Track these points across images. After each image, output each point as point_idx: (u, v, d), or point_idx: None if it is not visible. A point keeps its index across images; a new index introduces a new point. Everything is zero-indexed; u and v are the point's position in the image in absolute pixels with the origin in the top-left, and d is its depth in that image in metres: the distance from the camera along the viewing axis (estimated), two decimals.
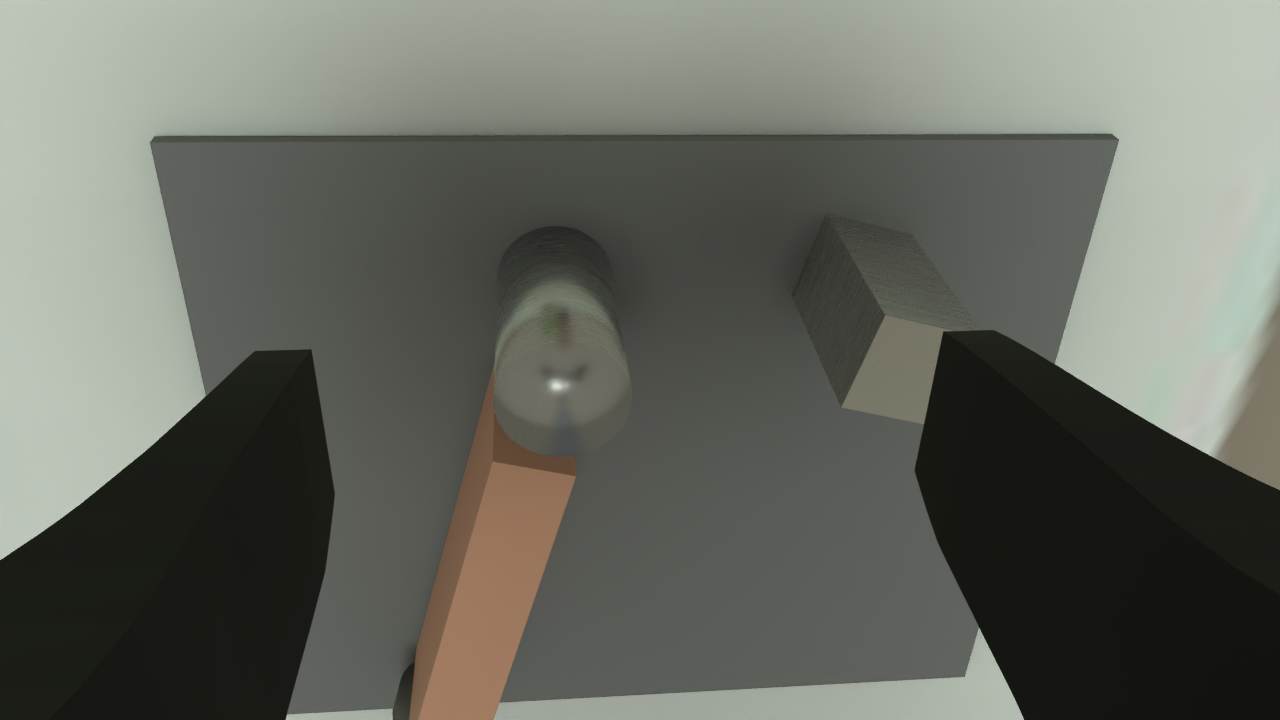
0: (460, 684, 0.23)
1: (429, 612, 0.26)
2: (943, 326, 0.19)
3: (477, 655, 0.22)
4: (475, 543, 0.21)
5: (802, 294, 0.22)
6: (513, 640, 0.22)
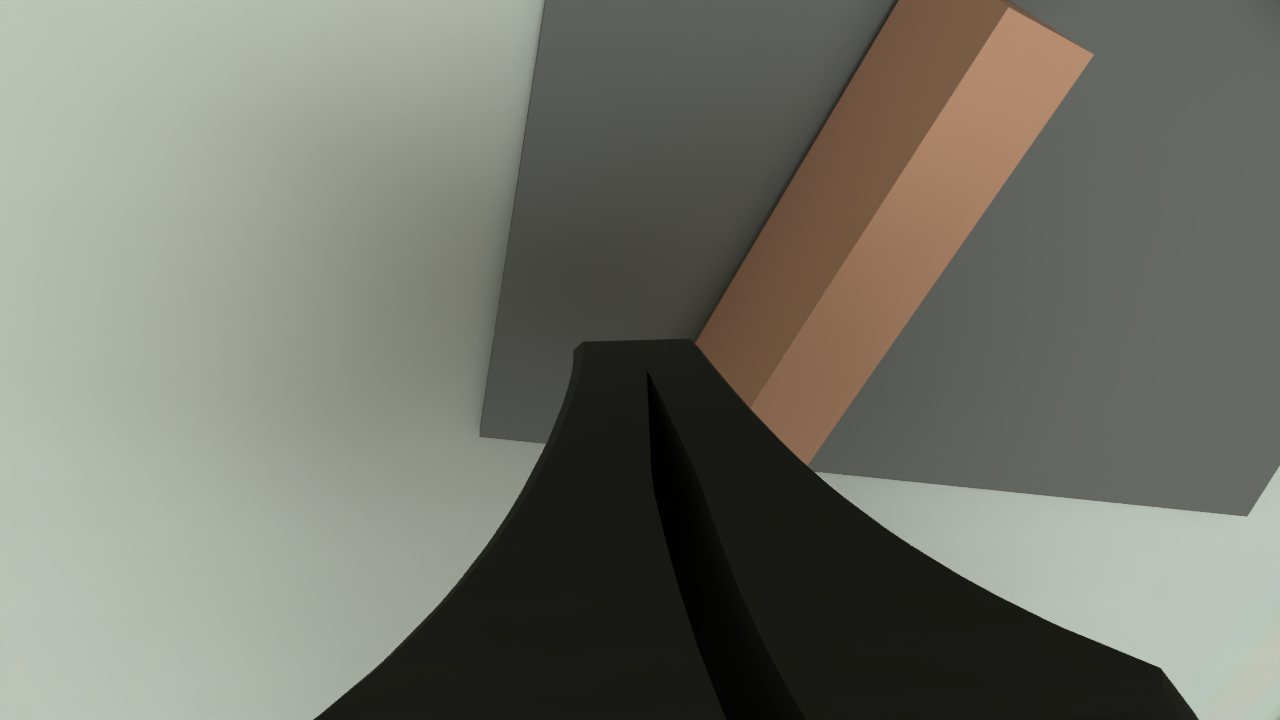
0: (826, 355, 0.18)
1: (731, 304, 0.21)
2: None
3: (863, 313, 0.18)
4: (933, 135, 0.16)
5: None
6: (915, 298, 0.18)
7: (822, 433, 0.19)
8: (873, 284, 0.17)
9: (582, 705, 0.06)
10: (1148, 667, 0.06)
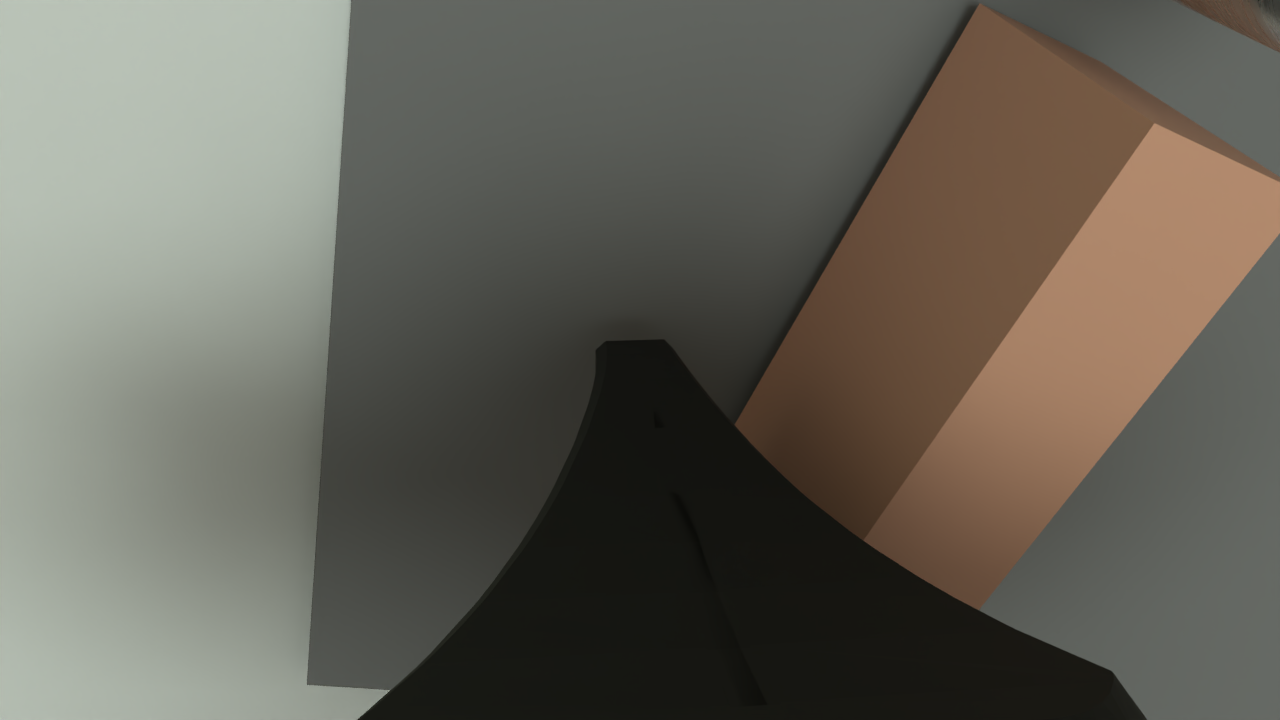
0: None
1: None
2: None
3: None
4: (1014, 344, 0.09)
5: None
6: (983, 587, 0.10)
7: None
8: (912, 572, 0.10)
9: (628, 702, 0.06)
10: (1100, 668, 0.06)
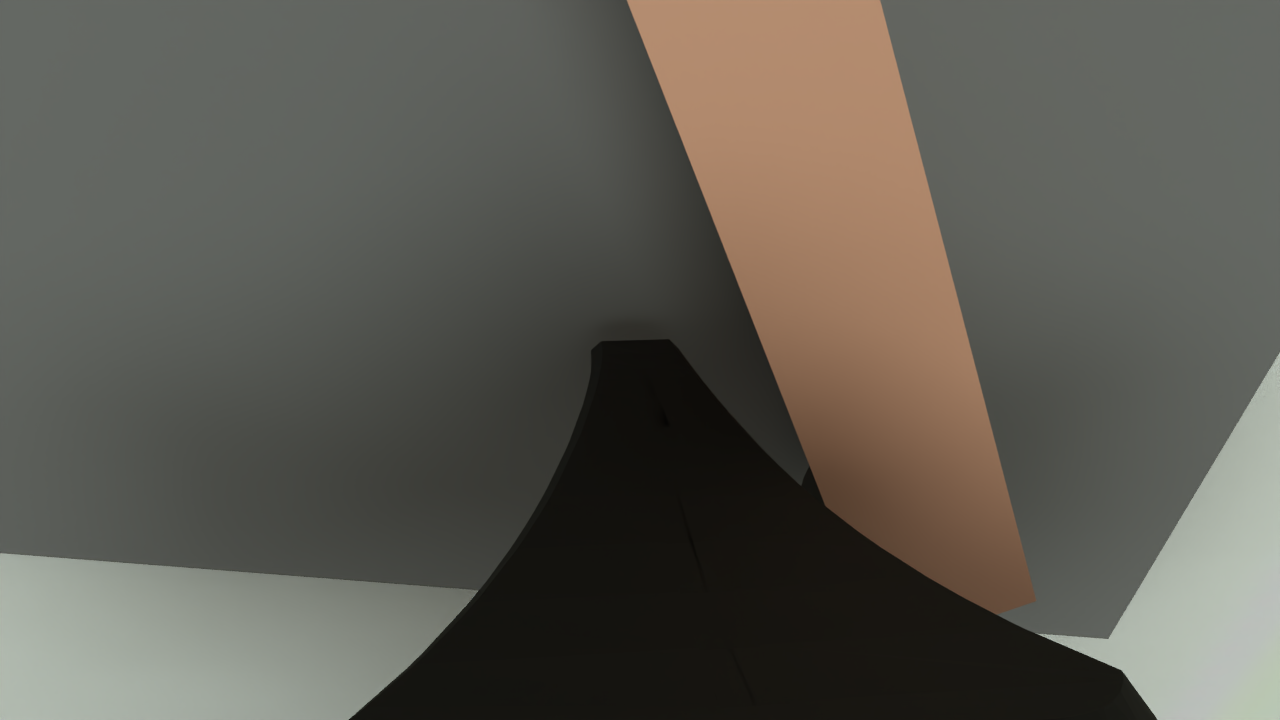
0: (872, 413, 0.09)
1: None
2: None
3: (864, 320, 0.09)
4: None
5: None
6: (921, 230, 0.08)
7: (996, 496, 0.10)
8: (826, 274, 0.08)
9: (619, 702, 0.06)
10: (1109, 668, 0.06)
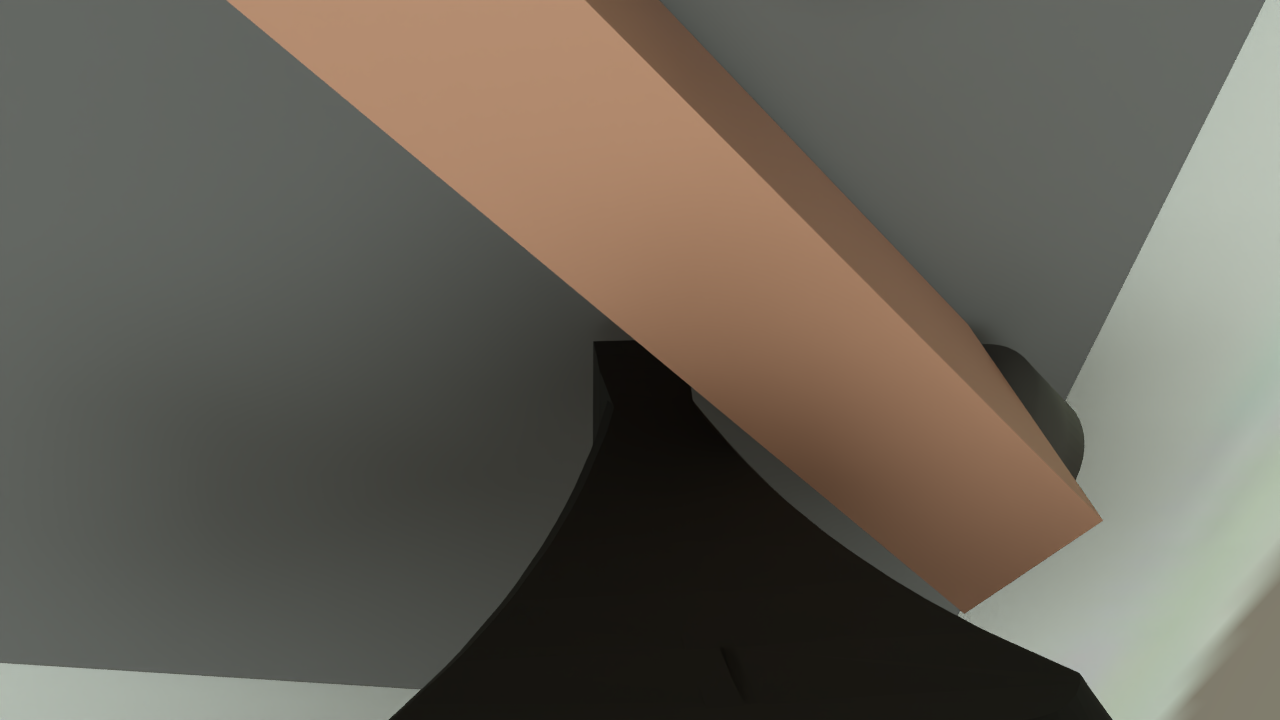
0: (832, 406, 0.09)
1: None
2: None
3: (775, 328, 0.09)
4: (415, 137, 0.07)
5: None
6: (788, 231, 0.08)
7: (1003, 439, 0.09)
8: (716, 302, 0.08)
9: (661, 700, 0.06)
10: (1066, 671, 0.06)
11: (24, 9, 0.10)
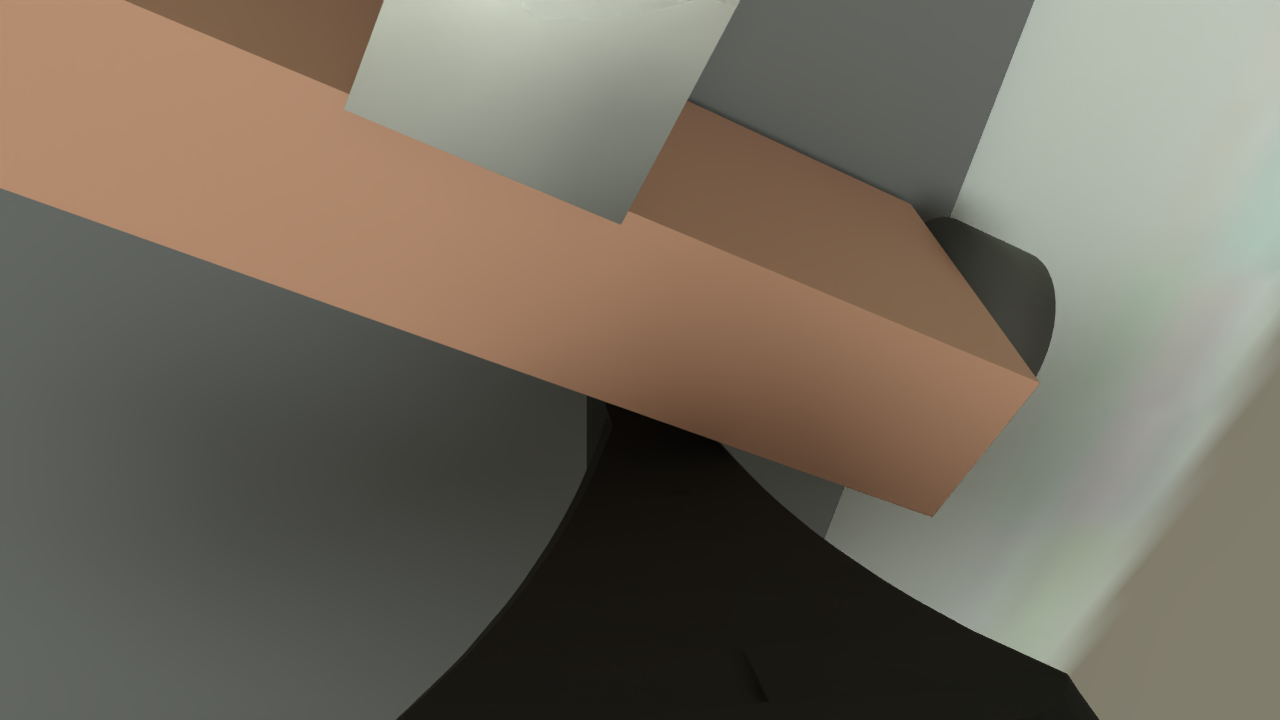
0: (678, 352, 0.09)
1: None
2: None
3: (580, 294, 0.08)
4: (141, 223, 0.08)
5: None
6: (541, 195, 0.08)
7: (881, 331, 0.09)
8: (507, 286, 0.08)
9: (668, 700, 0.06)
10: (1054, 672, 0.06)
11: None
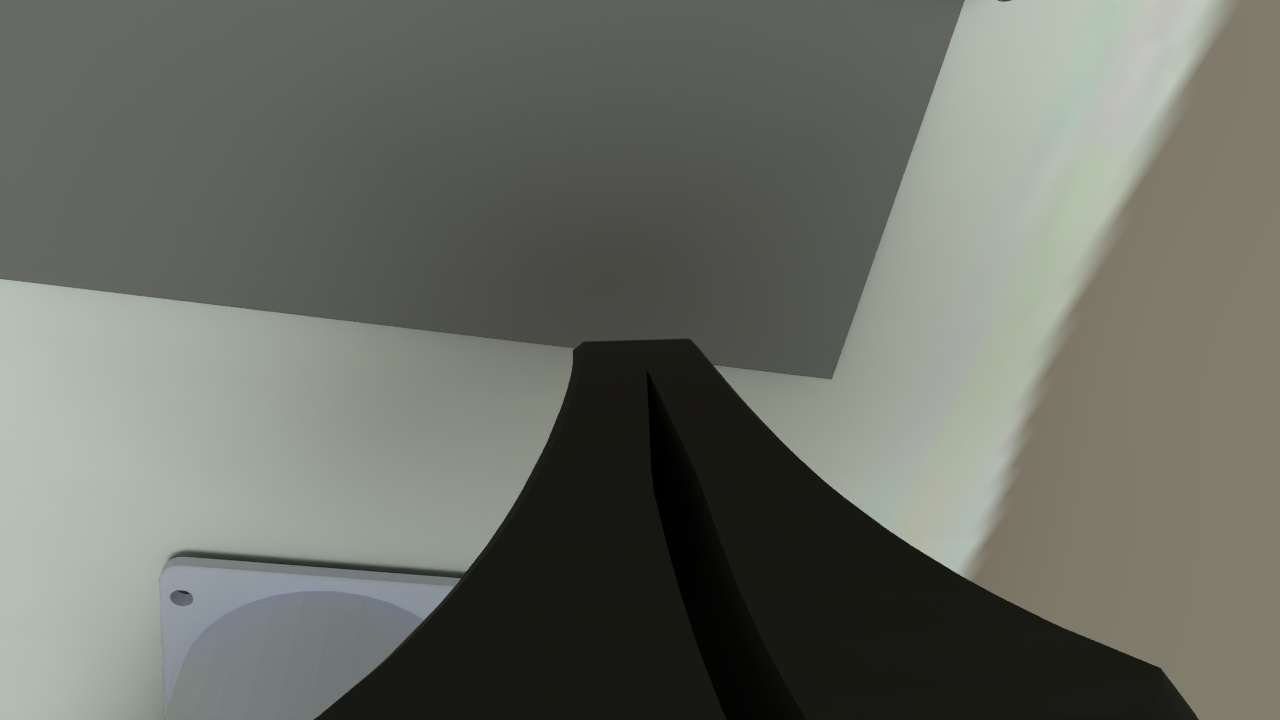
0: None
1: None
2: None
3: None
4: None
5: None
6: None
7: None
8: None
9: (582, 705, 0.06)
10: (1147, 665, 0.06)
11: None
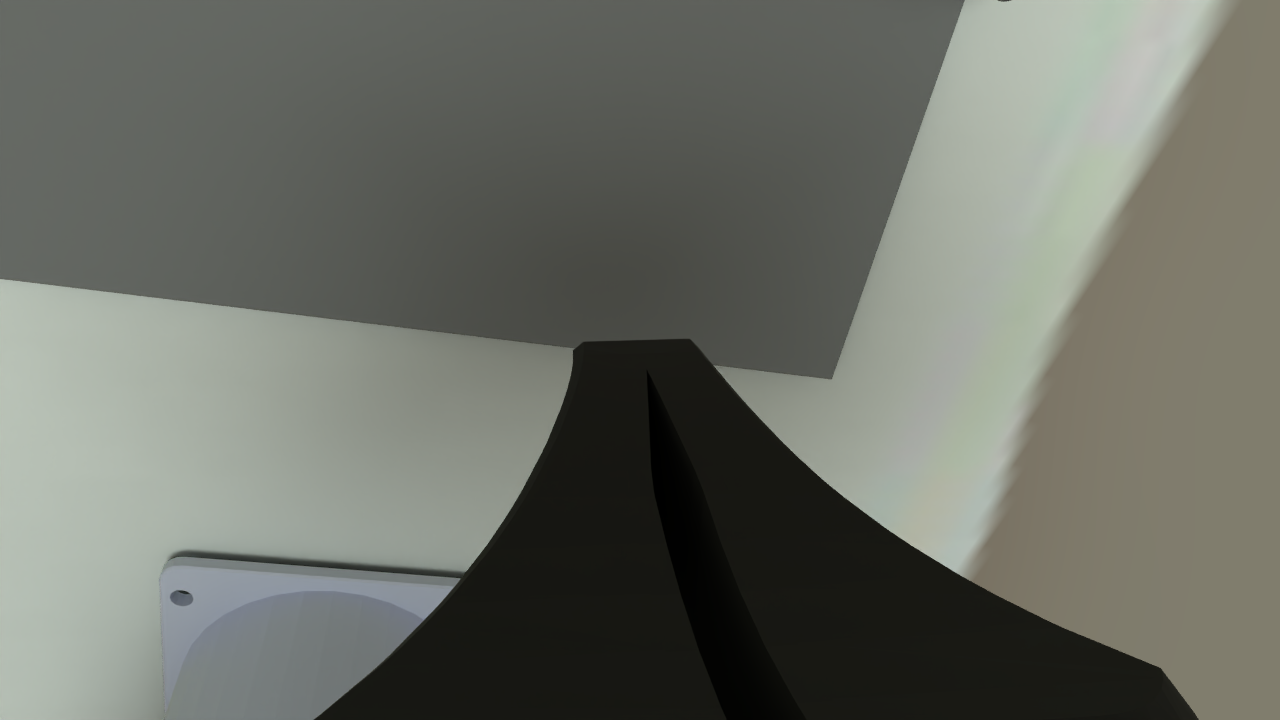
0: None
1: None
2: None
3: None
4: None
5: None
6: None
7: None
8: None
9: (582, 705, 0.06)
10: (1147, 665, 0.06)
11: None
